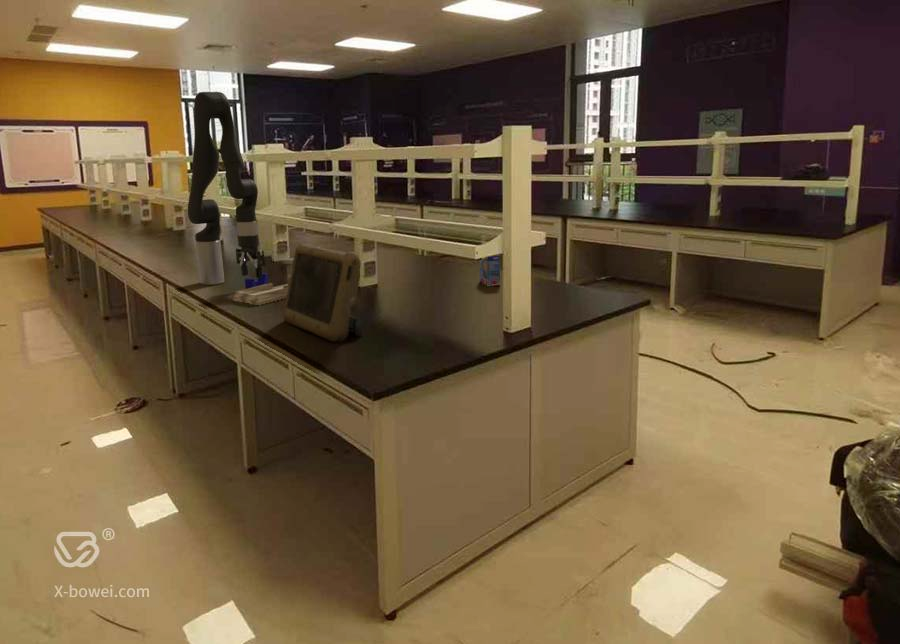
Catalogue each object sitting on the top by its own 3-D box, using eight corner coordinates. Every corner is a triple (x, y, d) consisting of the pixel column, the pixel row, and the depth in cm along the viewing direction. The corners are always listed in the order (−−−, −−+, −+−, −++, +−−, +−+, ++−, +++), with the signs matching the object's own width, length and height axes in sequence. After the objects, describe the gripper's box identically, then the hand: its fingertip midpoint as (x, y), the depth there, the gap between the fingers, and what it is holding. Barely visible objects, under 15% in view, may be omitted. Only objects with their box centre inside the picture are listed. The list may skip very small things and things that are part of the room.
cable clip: (257, 287, 254) (256, 272, 252) (268, 288, 253) (267, 273, 251) (242, 294, 242) (240, 279, 241) (253, 295, 242) (252, 279, 240)
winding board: (233, 300, 233) (229, 267, 229) (291, 286, 254) (288, 256, 250) (258, 305, 225) (255, 271, 222) (315, 291, 246) (313, 259, 243)
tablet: (274, 323, 203) (267, 244, 196) (311, 315, 213) (306, 239, 206) (334, 345, 181) (329, 256, 174) (373, 334, 190) (369, 250, 183)
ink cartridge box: (478, 282, 260) (478, 246, 256) (491, 281, 261) (491, 245, 257) (487, 287, 251) (487, 249, 247) (500, 285, 252) (501, 249, 248)
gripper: (227, 233, 243) (232, 276, 247) (251, 235, 235) (255, 279, 239) (244, 231, 249) (248, 273, 253) (268, 233, 240) (272, 276, 245)
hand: (252, 276), depth 246 cm, fingers open, 8 cm apart
